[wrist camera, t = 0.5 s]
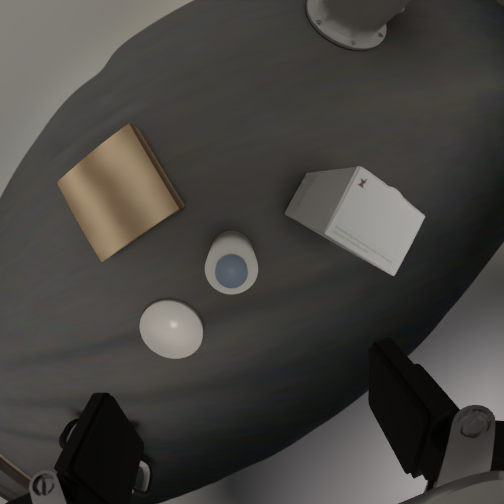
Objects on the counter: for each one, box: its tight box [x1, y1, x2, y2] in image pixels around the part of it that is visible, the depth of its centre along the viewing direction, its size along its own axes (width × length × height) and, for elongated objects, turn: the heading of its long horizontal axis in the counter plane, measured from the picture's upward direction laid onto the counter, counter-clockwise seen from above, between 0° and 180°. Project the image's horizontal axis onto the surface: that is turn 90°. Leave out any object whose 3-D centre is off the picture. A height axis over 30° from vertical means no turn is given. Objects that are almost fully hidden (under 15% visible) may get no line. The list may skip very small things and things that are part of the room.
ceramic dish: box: [140, 299, 203, 359], centre depth 39 cm, size 9×9×1 cm
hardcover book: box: [0, 454, 32, 490], centre depth 49 cm, size 16×23×2 cm
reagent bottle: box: [205, 231, 258, 294], centre depth 33 cm, size 5×5×9 cm
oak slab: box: [57, 124, 185, 262], centre depth 33 cm, size 12×12×4 cm
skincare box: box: [285, 166, 425, 276], centre depth 29 cm, size 8×7×16 cm
